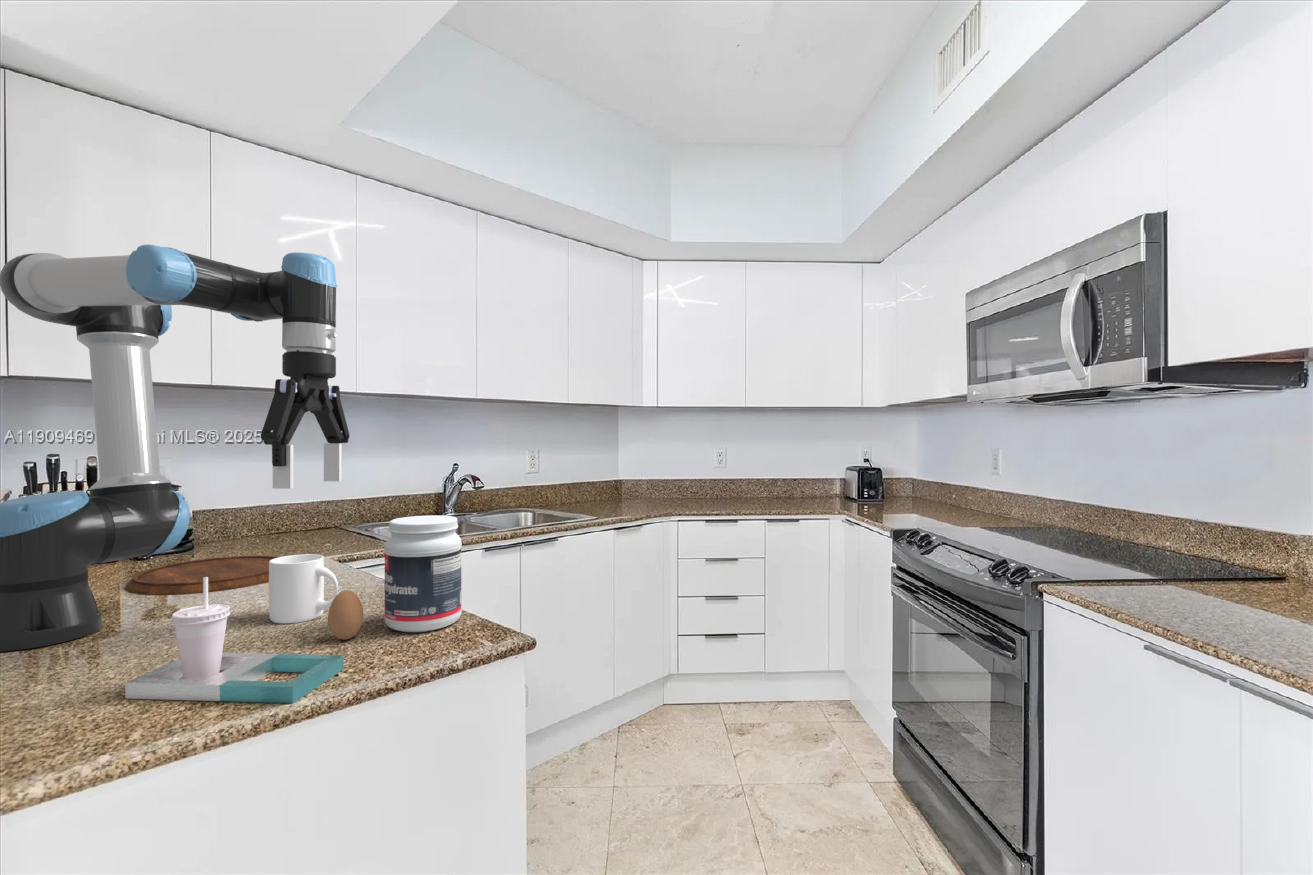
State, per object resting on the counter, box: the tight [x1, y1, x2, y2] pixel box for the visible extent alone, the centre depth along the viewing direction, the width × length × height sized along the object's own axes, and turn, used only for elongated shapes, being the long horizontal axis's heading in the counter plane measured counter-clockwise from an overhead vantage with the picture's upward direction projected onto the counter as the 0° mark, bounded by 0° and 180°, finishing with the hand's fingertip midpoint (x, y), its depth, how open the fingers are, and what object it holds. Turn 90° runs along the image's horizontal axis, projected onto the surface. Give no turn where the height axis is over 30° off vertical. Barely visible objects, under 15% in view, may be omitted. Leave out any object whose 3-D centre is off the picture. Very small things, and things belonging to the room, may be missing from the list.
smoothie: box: [170, 577, 231, 680], centre depth 83 cm, size 6×6×14 cm
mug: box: [268, 553, 339, 625], centre depth 112 cm, size 9×12×11 cm
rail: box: [124, 652, 345, 704], centre depth 82 cm, size 22×11×2 cm, turn 86°
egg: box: [327, 589, 364, 641], centre depth 100 cm, size 5×5×8 cm
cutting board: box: [125, 555, 280, 596], centre depth 143 cm, size 32×32×3 cm
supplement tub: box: [383, 514, 463, 633], centre depth 108 cm, size 13×13×18 cm
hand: (309, 484), depth 99 cm, fingers open, 13 cm apart
